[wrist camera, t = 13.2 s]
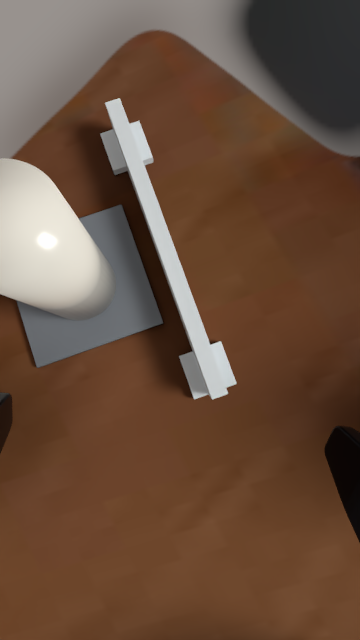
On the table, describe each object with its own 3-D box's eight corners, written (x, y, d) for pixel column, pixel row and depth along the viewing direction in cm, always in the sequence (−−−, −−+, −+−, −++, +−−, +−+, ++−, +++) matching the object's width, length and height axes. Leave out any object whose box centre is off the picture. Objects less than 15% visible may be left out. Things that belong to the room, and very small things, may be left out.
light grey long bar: (235, 383, 21) (244, 387, 18) (193, 398, 21) (196, 405, 18) (140, 126, 23) (134, 93, 20) (102, 139, 23) (90, 107, 20)
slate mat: (163, 323, 22) (163, 322, 21) (39, 367, 21) (36, 367, 21) (122, 207, 22) (121, 204, 22) (3, 247, 22) (-1, 245, 22)
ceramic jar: (126, 304, 21) (84, 258, 11) (57, 331, 21) (-49, 307, 11) (101, 239, 22) (40, 140, 12) (33, 264, 22) (-87, 184, 12)
